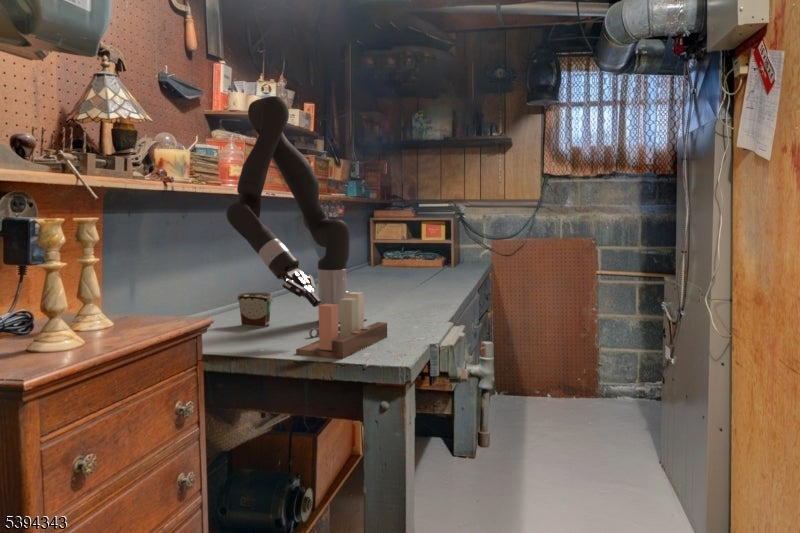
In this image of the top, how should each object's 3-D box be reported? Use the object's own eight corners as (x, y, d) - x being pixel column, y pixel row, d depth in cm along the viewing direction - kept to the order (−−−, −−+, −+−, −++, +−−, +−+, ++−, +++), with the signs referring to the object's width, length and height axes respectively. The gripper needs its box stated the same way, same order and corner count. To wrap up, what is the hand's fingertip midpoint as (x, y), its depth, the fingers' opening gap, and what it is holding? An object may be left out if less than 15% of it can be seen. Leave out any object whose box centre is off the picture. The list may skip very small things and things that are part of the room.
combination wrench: (310, 327, 170) (370, 318, 181) (308, 326, 171) (368, 318, 182) (310, 340, 170) (370, 330, 181) (308, 339, 171) (368, 330, 182)
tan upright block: (347, 331, 171) (347, 293, 170) (352, 329, 174) (352, 292, 173) (358, 332, 169) (358, 294, 168) (363, 330, 173) (363, 292, 172)
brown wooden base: (296, 353, 151) (295, 336, 151) (345, 333, 176) (345, 318, 176) (343, 358, 146) (342, 340, 146) (387, 337, 171) (387, 321, 170)
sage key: (340, 340, 159) (339, 299, 158) (346, 337, 163) (345, 297, 162) (352, 341, 158) (351, 300, 157) (357, 338, 161) (357, 298, 160)
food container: (281, 324, 190) (280, 293, 189) (269, 328, 185) (268, 295, 184) (250, 321, 196) (249, 291, 195) (237, 324, 190) (237, 293, 189)
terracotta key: (319, 349, 149) (318, 305, 148) (326, 346, 152) (325, 303, 151) (331, 350, 148) (331, 306, 147) (338, 347, 151) (338, 304, 150)
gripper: (272, 251, 159) (314, 299, 156) (299, 247, 171) (337, 292, 168) (256, 270, 162) (297, 317, 158) (283, 265, 174) (321, 309, 171)
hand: (318, 304), depth 163 cm, fingers closed
